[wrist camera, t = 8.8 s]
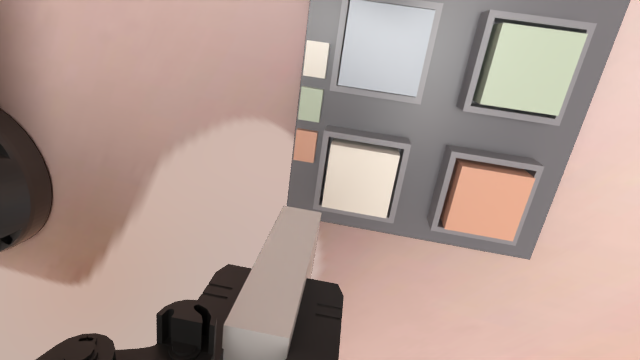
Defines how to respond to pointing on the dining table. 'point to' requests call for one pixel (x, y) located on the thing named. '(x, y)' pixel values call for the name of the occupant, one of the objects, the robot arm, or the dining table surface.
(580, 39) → the sage key
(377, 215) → the cream key
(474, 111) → the keypad
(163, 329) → the robot arm
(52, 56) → the dining table surface
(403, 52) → the slate key
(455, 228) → the terracotta key
